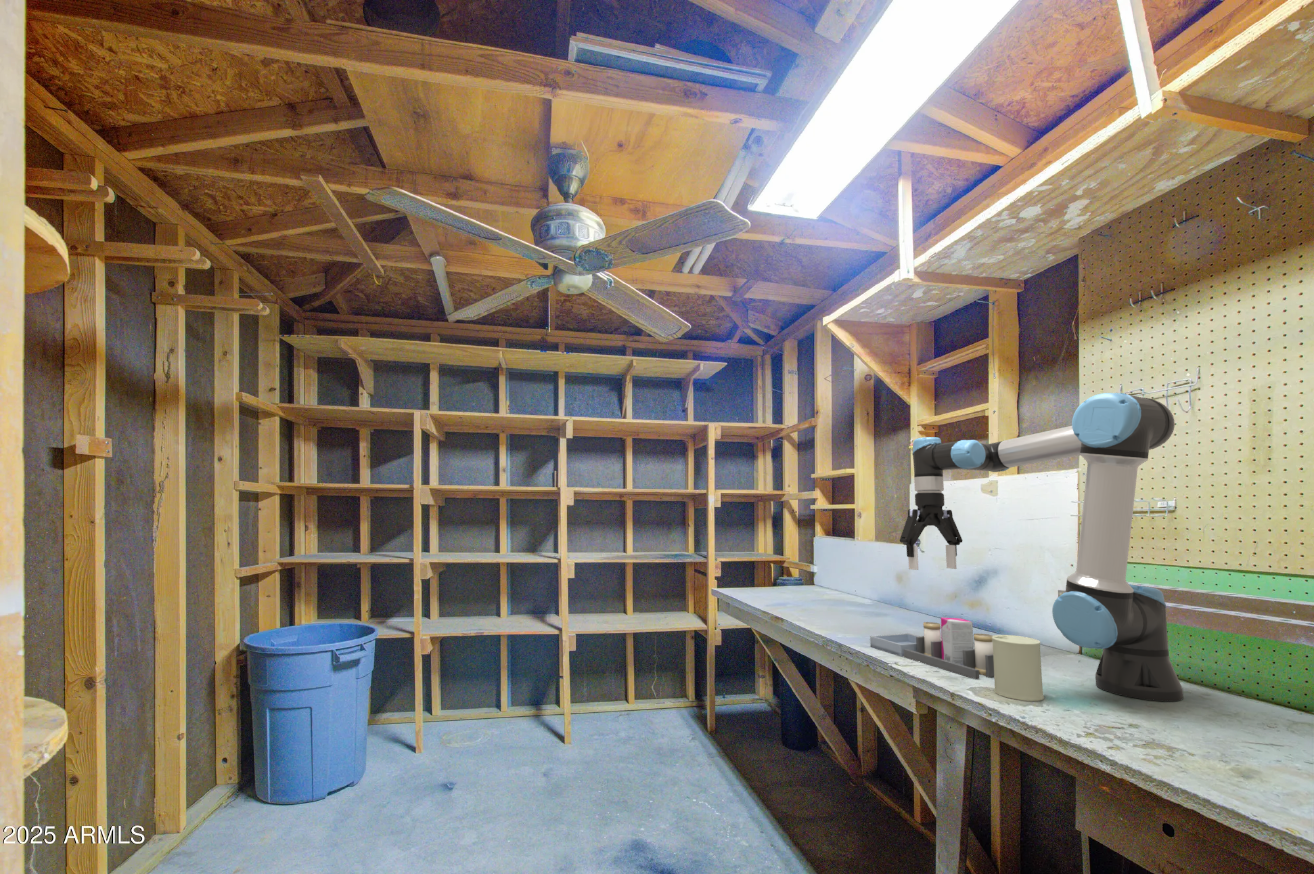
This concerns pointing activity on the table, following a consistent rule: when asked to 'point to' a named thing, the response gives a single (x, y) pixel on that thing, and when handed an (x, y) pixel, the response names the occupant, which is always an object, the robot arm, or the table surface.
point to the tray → (894, 643)
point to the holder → (937, 661)
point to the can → (1017, 667)
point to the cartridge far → (931, 635)
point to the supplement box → (956, 638)
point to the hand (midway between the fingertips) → (932, 569)
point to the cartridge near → (982, 651)
